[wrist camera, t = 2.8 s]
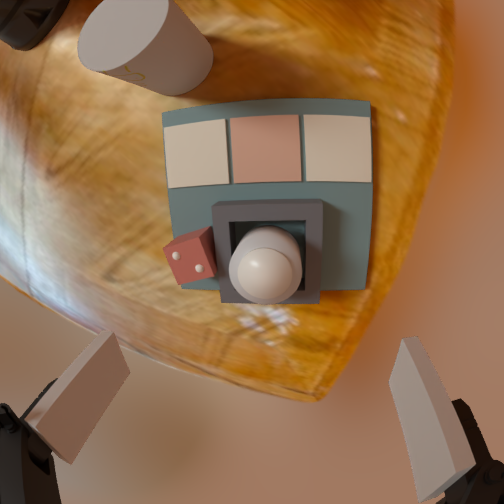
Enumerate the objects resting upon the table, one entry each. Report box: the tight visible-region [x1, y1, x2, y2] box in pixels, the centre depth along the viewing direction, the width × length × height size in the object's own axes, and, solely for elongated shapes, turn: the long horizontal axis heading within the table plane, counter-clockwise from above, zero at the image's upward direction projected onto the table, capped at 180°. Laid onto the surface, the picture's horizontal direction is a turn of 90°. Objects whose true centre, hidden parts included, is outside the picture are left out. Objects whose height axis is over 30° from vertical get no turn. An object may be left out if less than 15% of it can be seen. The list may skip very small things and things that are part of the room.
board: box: [162, 98, 373, 304], centre depth 26 cm, size 21×20×4 cm
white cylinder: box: [78, 0, 213, 96], centre depth 18 cm, size 8×8×12 cm
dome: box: [229, 225, 302, 305], centre depth 24 cm, size 6×6×4 cm
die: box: [163, 226, 218, 285], centre depth 27 cm, size 4×4×4 cm
